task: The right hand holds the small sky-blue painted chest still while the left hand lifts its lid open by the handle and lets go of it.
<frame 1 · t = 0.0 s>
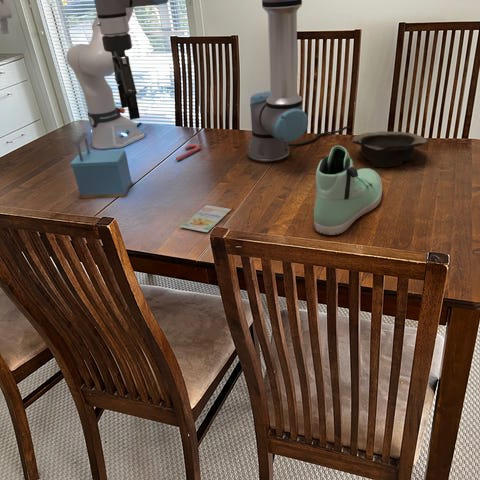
left hand: (0, 32, 160), 48 cm above the table, tool pointing down, fingers open, 8 cm apart
right hand: (130, 112, 139), 28 cm above the table, tool pointing down, fingers open, 13 cm apart
baking ingredient package: (206, 219, 140), on the table
candy cane: (186, 154, 185), on the table
chest: (107, 190, 162), on the table
stone bowl: (386, 158, 168), on the table
lid: (96, 148, 154), point 15 cm above the table, hinge at 0.0°
sneaker: (348, 208, 139), on the table
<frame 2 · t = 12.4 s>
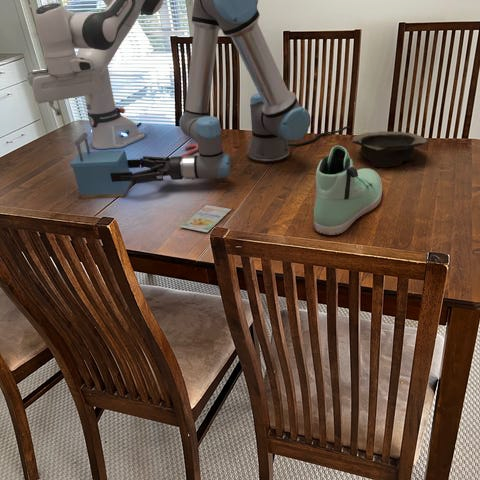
left hand: (74, 112, 148), 27 cm above the table, tool pointing down, fingers open, 8 cm apart
right hand: (116, 170, 157), 7 cm above the table, tool horizontal, fingers closed on chest, 10 cm apart
chest: (107, 190, 162), on the table, touching right hand
everything else where it was.
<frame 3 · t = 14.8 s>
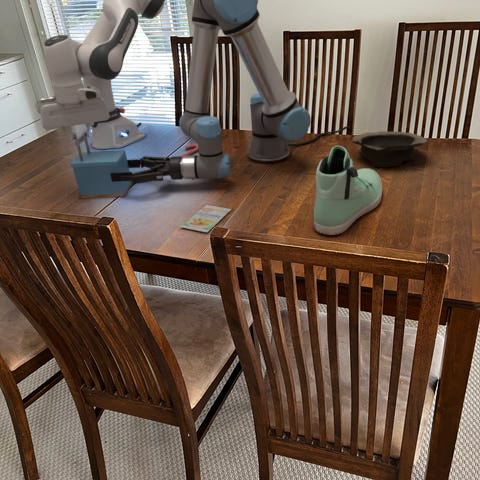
left hand: (81, 138, 152), 19 cm above the table, tool pointing down, fingers closed on lid, 2 cm apart
right hand: (116, 170, 157), 7 cm above the table, tool horizontal, fingers closed on chest, 10 cm apart
chest: (107, 190, 162), on the table, touching right hand
lid: (96, 148, 154), point 15 cm above the table, hinge at -0.1°, touching left hand
everything else where it was.
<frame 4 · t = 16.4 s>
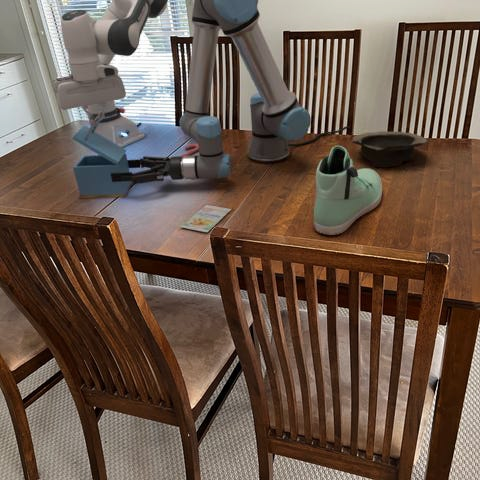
left hand: (96, 118, 148), 25 cm above the table, tool pointing down, fingers closed, pressing on lid
right hand: (116, 170, 157), 7 cm above the table, tool horizontal, fingers closed on chest, 10 cm apart
chest: (107, 190, 161), on the table, touching right hand
lid: (104, 136, 151), point 19 cm above the table, hinge at 36.9°, touching left hand
everything else where it was.
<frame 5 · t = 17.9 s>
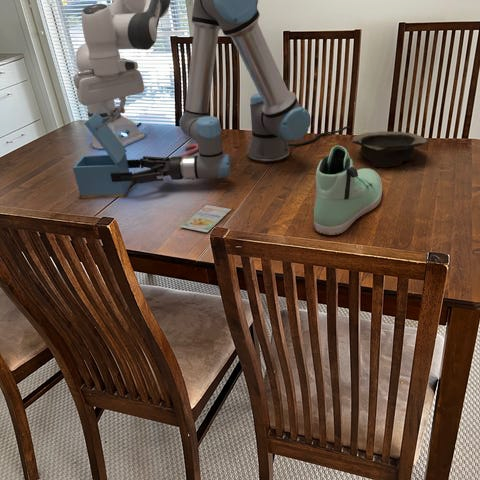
left hand: (116, 113, 147), 26 cm above the table, tool pointing down, fingers closed
right hand: (116, 170, 157), 7 cm above the table, tool horizontal, fingers closed on chest, 10 cm apart
chest: (107, 190, 161), on the table, touching right hand
lid: (115, 132, 150), point 20 cm above the table, hinge at 62.9°, touching left hand
everything else where it was.
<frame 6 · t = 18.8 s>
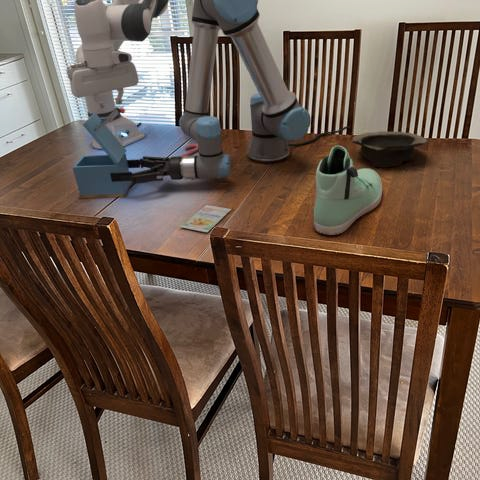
left hand: (110, 106, 146), 28 cm above the table, tool pointing down, fingers open, 5 cm apart
right hand: (116, 170, 157), 7 cm above the table, tool horizontal, fingers closed on chest, 10 cm apart
chest: (106, 190, 161), on the table, touching right hand
lid: (113, 132, 150), point 20 cm above the table, hinge at 60.1°
everything else where it was.
when the right hand's fingers open (7 cm above the table, at t = 21.8 s): chest stays where it is, on the table.
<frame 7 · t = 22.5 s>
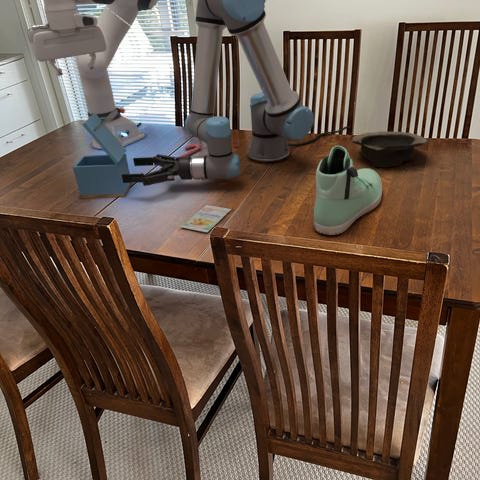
left hand: (76, 72, 141), 39 cm above the table, tool pointing down, fingers open, 8 cm apart
right hand: (128, 170, 157), 7 cm above the table, tool horizontal, fingers open, 13 cm apart
chest: (107, 190, 161), on the table
lid: (113, 132, 151), point 20 cm above the table, hinge at 59.5°
everything else where it was.
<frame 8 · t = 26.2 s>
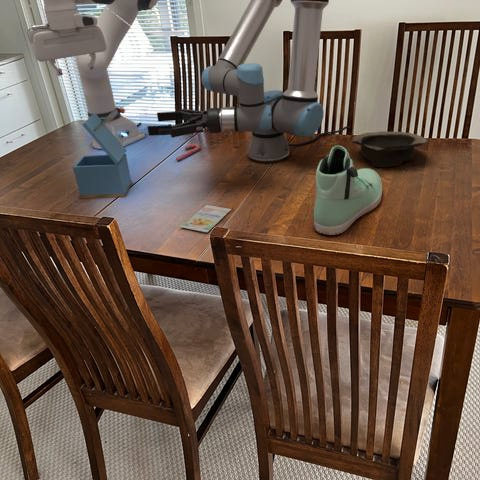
left hand: (76, 72, 141), 39 cm above the table, tool pointing down, fingers open, 8 cm apart
right hand: (153, 123, 148), 22 cm above the table, tool horizontal, fingers open, 13 cm apart
nothing on the table moved.
at the end: lid at +60° (first picture: +0°); the left hand is holding nothing; the right hand is holding nothing; chest tilted 0°; chest never tilted more than 1° during the clip; chest moved 0.0 cm from its start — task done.
